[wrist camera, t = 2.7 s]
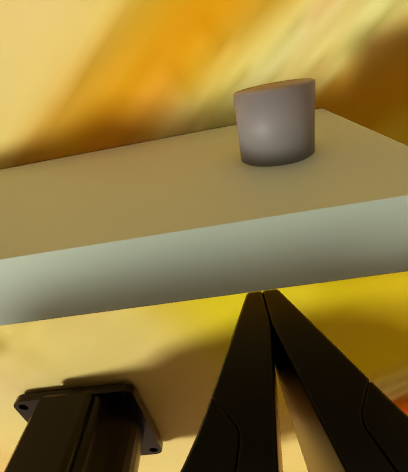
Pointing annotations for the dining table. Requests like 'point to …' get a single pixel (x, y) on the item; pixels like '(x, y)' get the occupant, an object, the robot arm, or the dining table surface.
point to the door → (205, 212)
